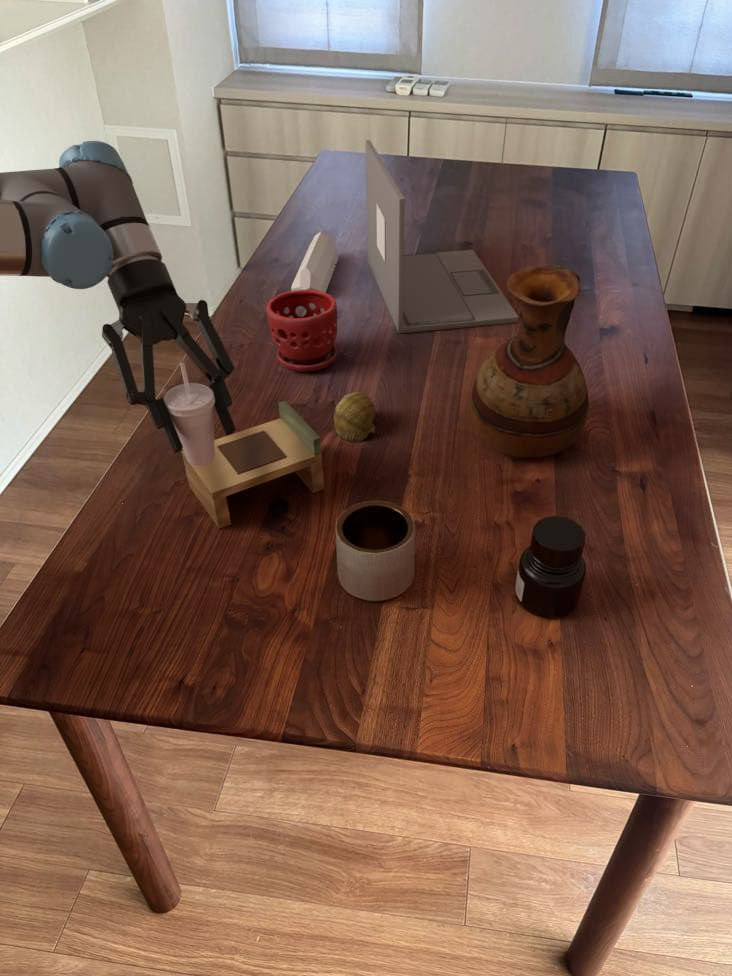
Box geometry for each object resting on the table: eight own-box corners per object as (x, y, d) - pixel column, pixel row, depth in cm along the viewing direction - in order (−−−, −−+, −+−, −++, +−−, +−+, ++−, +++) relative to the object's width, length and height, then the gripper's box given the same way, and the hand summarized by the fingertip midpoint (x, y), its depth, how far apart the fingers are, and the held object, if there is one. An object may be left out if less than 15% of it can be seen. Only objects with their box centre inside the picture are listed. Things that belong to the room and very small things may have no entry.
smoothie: (225, 441, 109) (209, 350, 100) (225, 469, 105) (208, 377, 95) (177, 445, 108) (156, 354, 99) (175, 474, 104) (153, 382, 94)
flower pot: (346, 346, 160) (343, 290, 151) (330, 380, 150) (326, 322, 142) (283, 340, 161) (277, 284, 153) (264, 373, 152) (256, 316, 144)
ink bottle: (538, 563, 115) (549, 500, 107) (591, 592, 111) (608, 528, 103) (500, 601, 109) (509, 537, 101) (555, 632, 105) (569, 569, 97)
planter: (341, 608, 108) (338, 557, 102) (334, 553, 116) (331, 503, 109) (420, 599, 109) (422, 549, 103) (407, 545, 117) (408, 496, 111)
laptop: (518, 322, 168) (534, 190, 149) (397, 334, 163) (398, 199, 145) (472, 255, 193) (481, 134, 174) (367, 263, 188) (364, 140, 170)
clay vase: (450, 449, 135) (461, 281, 114) (492, 391, 148) (509, 232, 128) (561, 481, 129) (594, 310, 108) (594, 418, 142) (629, 255, 122)
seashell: (369, 455, 140) (396, 420, 137) (345, 448, 134) (373, 411, 131) (338, 422, 144) (364, 387, 142) (314, 413, 138) (340, 377, 136)
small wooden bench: (218, 528, 119) (208, 476, 113) (189, 486, 127) (177, 434, 120) (324, 488, 127) (320, 437, 120) (290, 450, 134) (285, 400, 127)
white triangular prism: (330, 287, 170) (346, 242, 188) (300, 269, 168) (320, 225, 186) (315, 313, 175) (332, 267, 192) (285, 297, 173) (306, 251, 190)
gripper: (203, 265, 107) (267, 425, 108) (57, 300, 99) (128, 471, 101) (212, 240, 100) (281, 411, 101) (56, 275, 93) (133, 459, 94)
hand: (205, 440), depth 101 cm, fingers closed on smoothie, 6 cm apart
